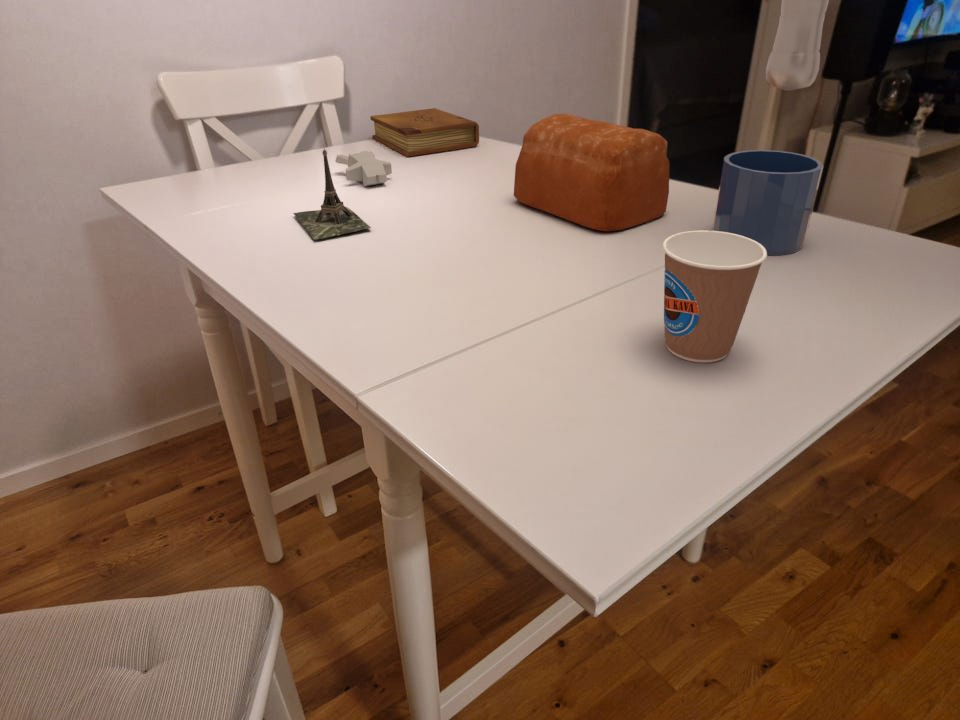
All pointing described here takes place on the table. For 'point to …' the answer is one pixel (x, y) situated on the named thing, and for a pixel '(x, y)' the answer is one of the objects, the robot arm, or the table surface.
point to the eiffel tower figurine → (330, 213)
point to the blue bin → (768, 198)
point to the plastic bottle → (797, 44)
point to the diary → (425, 131)
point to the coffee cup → (707, 291)
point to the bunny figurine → (365, 168)
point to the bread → (593, 172)
